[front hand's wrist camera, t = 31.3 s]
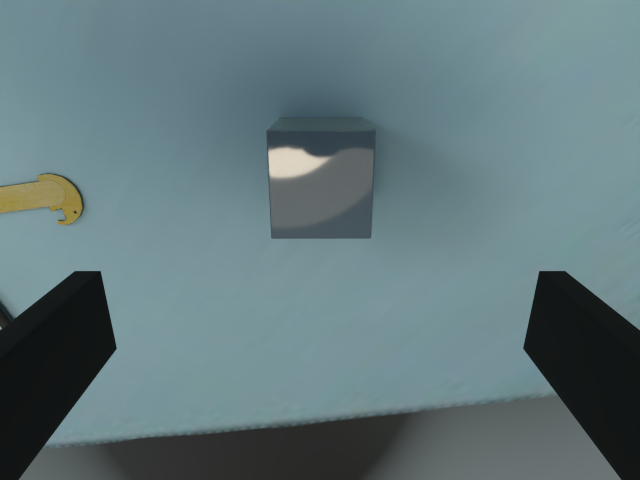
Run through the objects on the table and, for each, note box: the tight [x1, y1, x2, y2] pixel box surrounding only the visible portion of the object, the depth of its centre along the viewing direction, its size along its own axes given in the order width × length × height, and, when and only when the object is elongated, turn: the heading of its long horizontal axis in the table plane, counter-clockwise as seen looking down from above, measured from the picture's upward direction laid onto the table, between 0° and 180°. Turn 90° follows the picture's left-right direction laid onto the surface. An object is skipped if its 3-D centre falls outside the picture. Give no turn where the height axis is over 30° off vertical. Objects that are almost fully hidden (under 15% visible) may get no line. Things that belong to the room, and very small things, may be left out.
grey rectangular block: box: [266, 118, 376, 238], centre depth 32 cm, size 7×7×9 cm
